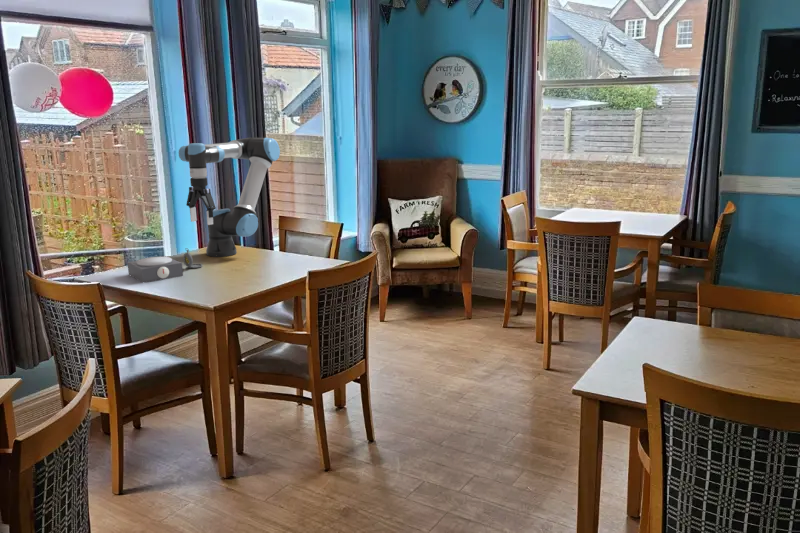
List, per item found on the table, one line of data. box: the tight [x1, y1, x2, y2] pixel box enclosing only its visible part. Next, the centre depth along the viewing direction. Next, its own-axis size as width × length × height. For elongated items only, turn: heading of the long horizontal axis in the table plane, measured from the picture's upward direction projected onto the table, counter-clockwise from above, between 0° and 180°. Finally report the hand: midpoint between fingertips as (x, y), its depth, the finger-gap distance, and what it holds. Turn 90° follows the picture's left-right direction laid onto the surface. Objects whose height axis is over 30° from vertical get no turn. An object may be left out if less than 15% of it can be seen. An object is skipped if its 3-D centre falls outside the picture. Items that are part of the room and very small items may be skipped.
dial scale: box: [127, 255, 184, 283], centre depth 305 cm, size 19×18×7 cm
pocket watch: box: [183, 248, 203, 269], centre depth 320 cm, size 8×8×10 cm
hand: (202, 222), depth 316 cm, fingers open, 13 cm apart
